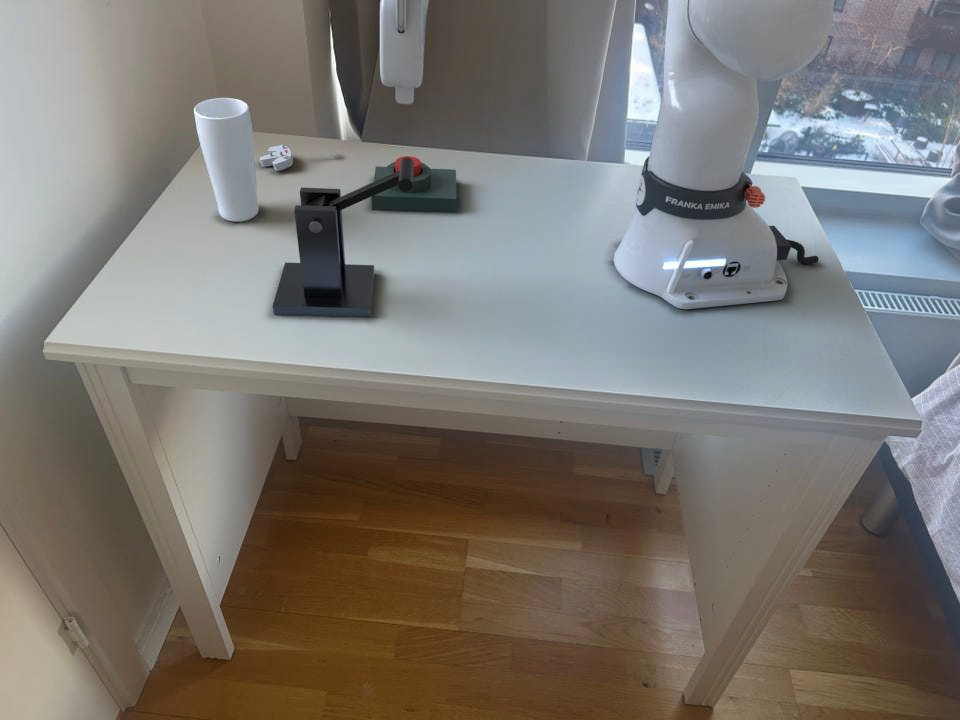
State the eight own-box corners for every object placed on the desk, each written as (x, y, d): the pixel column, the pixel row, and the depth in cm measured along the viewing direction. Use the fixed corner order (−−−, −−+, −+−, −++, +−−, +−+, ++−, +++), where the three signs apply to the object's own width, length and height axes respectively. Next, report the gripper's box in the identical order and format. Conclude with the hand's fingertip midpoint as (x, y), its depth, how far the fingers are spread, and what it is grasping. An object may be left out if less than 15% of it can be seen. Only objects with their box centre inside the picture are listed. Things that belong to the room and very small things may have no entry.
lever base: (374, 273, 94) (371, 181, 85) (369, 317, 87) (364, 221, 78) (286, 270, 93) (273, 177, 84) (273, 314, 86) (259, 217, 78)
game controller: (254, 161, 114) (252, 145, 113) (320, 144, 120) (319, 129, 119) (271, 175, 111) (269, 159, 109) (338, 158, 117) (337, 142, 115)
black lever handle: (418, 169, 82) (408, 151, 81) (417, 191, 79) (406, 173, 77) (317, 215, 86) (305, 198, 84) (311, 238, 82) (299, 221, 80)
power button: (420, 167, 108) (421, 156, 107) (420, 179, 106) (420, 168, 105) (396, 166, 108) (396, 155, 107) (395, 178, 105) (394, 167, 104)
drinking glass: (252, 229, 100) (234, 122, 90) (204, 221, 100) (182, 114, 90) (272, 205, 105) (258, 101, 95) (227, 198, 105) (208, 94, 96)
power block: (455, 182, 113) (456, 158, 111) (455, 212, 106) (457, 187, 104) (376, 179, 112) (375, 154, 110) (371, 209, 106) (370, 184, 103)
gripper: (441, -22, 58) (435, 145, 67) (441, -78, 73) (437, 64, 82) (359, -27, 57) (365, 141, 66) (377, -82, 73) (380, 61, 82)
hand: (405, 98), depth 75 cm, fingers closed
